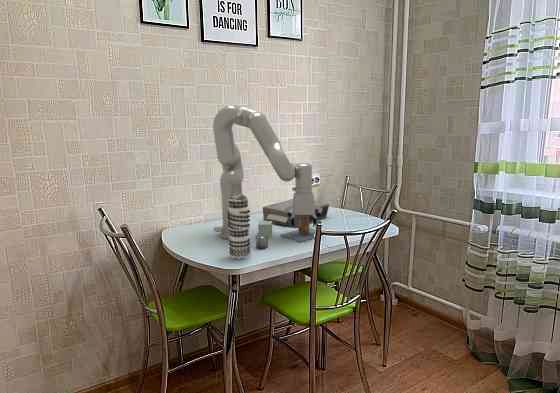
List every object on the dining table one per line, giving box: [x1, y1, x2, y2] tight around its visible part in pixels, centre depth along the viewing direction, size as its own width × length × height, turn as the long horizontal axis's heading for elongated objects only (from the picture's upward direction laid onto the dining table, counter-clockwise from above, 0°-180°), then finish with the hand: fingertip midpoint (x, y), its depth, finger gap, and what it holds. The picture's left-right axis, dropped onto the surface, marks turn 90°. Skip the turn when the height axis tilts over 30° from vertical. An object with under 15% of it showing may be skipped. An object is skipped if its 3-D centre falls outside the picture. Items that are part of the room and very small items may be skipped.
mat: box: [279, 227, 316, 243], centre depth 195 cm, size 18×14×1 cm
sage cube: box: [257, 220, 273, 238], centre depth 196 cm, size 6×6×6 cm
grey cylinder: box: [255, 234, 269, 250], centre depth 178 cm, size 5×5×5 cm
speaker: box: [262, 198, 330, 229], centre depth 223 cm, size 24×8×30 cm
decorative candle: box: [227, 193, 251, 260], centre depth 167 cm, size 9×9×25 cm
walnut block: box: [297, 216, 310, 235], centre depth 194 cm, size 5×5×8 cm
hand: (303, 226), depth 195 cm, fingers open, 9 cm apart
